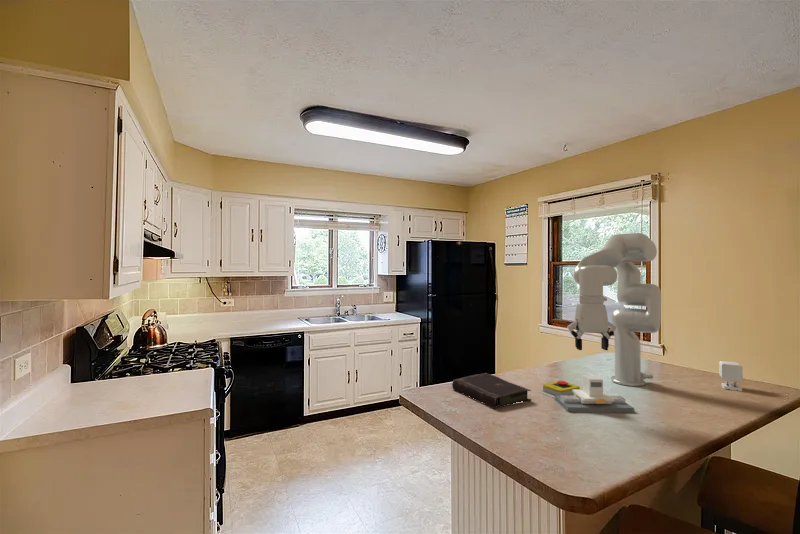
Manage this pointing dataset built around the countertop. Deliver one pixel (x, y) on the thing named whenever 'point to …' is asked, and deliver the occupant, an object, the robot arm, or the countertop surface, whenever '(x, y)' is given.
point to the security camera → (731, 374)
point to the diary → (491, 390)
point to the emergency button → (558, 389)
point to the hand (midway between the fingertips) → (591, 349)
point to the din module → (592, 385)
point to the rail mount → (593, 405)
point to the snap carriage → (592, 398)
